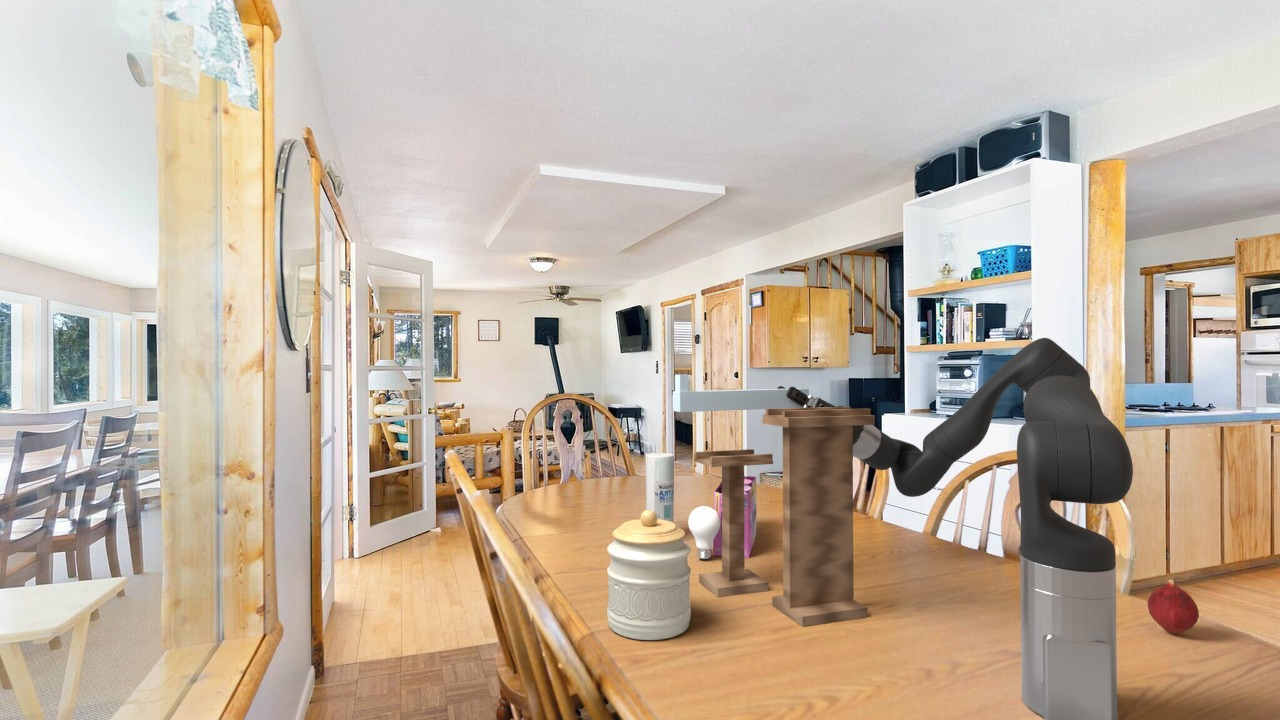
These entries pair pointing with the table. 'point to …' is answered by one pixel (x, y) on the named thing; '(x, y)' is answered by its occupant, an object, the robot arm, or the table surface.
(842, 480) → the shelf stand
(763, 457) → the rest post
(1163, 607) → the onion
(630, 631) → the jar
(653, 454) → the spray can
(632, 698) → the table surface
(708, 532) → the light bulb
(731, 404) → the hook bar
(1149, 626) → the table surface
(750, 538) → the gum box
